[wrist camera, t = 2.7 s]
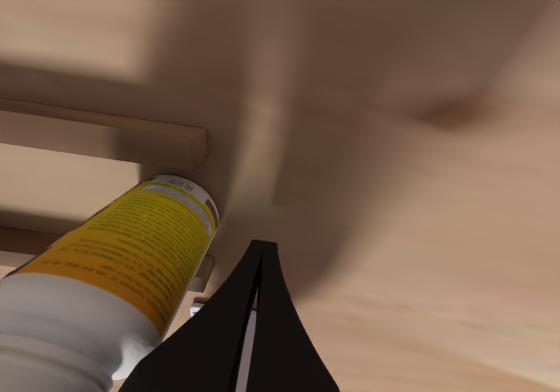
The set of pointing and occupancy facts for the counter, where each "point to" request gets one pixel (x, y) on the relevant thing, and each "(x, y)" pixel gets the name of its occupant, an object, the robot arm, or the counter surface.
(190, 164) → the guide track
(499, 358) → the counter surface
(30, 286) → the supplement bottle
